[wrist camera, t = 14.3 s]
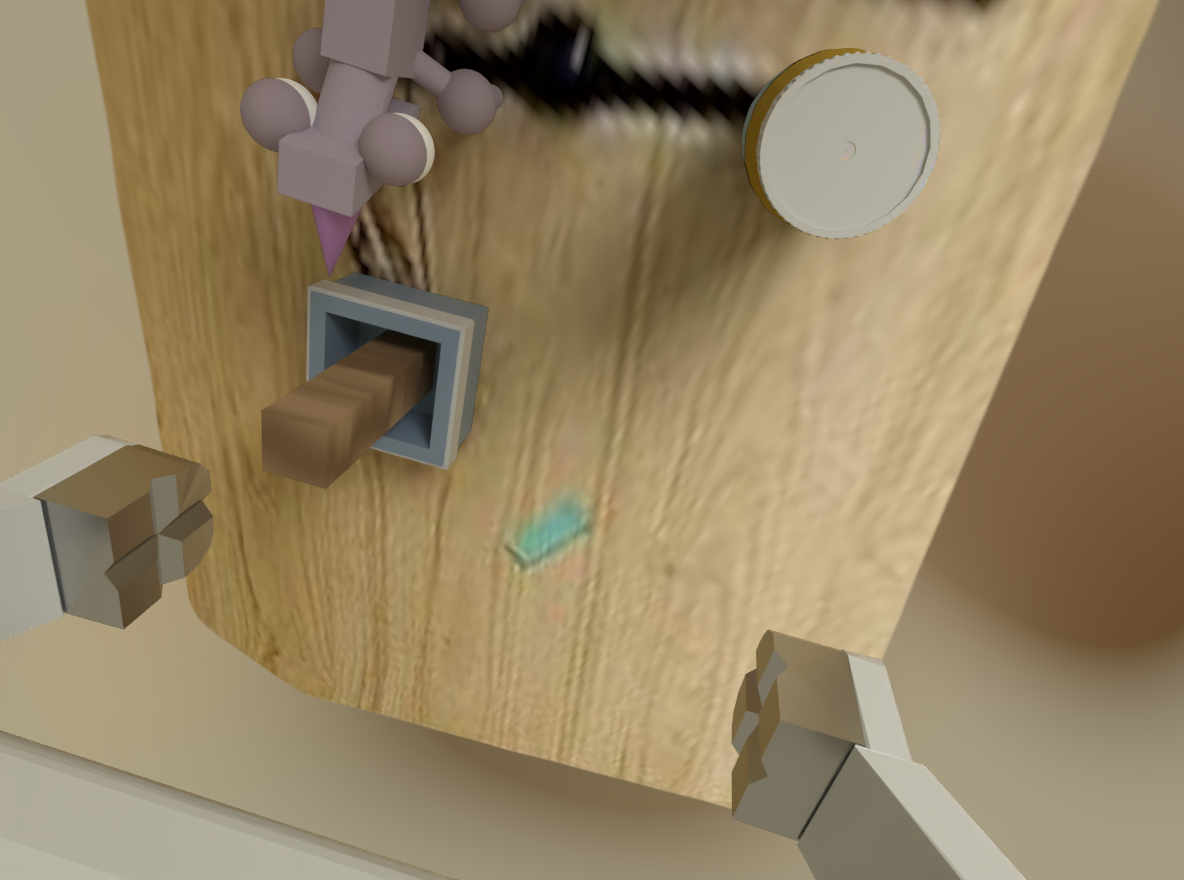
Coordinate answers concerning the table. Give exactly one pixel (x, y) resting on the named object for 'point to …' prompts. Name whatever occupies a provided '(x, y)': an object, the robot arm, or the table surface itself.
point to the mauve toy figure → (365, 107)
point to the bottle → (841, 142)
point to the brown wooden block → (346, 408)
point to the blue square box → (375, 305)
